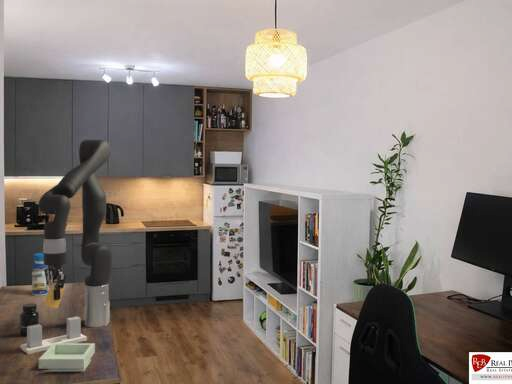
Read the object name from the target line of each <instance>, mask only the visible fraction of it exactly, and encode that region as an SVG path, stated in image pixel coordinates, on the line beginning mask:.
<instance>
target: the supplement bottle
mask: <svg viewBox="0 0 512 384" xmlns="http://www.w3.org/2000/svg"><path fill="white" fill-rule="evenodd" d="M36 324H40V312H39V311H38V307H37V304H36V303H33V302H31V303H25V304H23V305H22V312H20V314H19V336H20V337H25V338H27V326H31V325H36Z"/></svg>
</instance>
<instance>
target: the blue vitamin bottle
mask: <svg viewBox="0 0 512 384" xmlns="http://www.w3.org/2000/svg"><path fill="white" fill-rule="evenodd" d="M33 261H34V262H33V263H34V264H33V265H32V267H31V269H32V272H31V277H32V278H31V282H32V283H31V285H32V286H31V288H32V291H31V294H32V295H33V296H37V297H41V296H47V293H48V291H49V285H47V283H46V277H45V272H44V269H47V268H48V266H47V265H44V263H43V252H39V253H35V254H33Z"/></svg>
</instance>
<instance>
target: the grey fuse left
mask: <svg viewBox="0 0 512 384" xmlns="http://www.w3.org/2000/svg"><path fill="white" fill-rule="evenodd" d="M26 340H27V341H26V344H27V347H29V348H34V347H38V346H42V340H43V326H42V325H41V324H40V323H39V324H36V325H31V326H27V337H26Z"/></svg>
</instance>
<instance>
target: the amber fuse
mask: <svg viewBox="0 0 512 384" xmlns="http://www.w3.org/2000/svg"><path fill="white" fill-rule="evenodd" d="M65 288H66V285H64V288H61V289H60V300H54V289H53V283H52V282H51V285H50V288H49V291H48V293H47V295H45V296H46V297H45V299H44V301H43V306H44V307H49V308H54V309H58V308H59V305H60V303H61V300H62V297H63V293H64V291H65Z"/></svg>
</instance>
